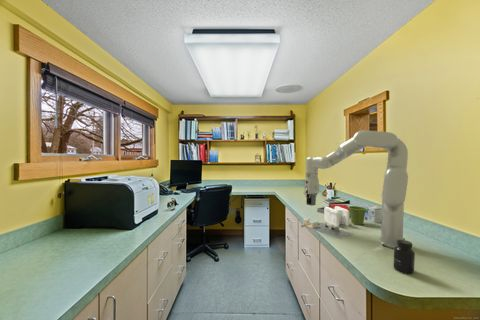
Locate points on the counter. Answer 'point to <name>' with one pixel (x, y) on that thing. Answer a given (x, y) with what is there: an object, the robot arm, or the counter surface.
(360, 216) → the plant pot
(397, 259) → the supplement bottle
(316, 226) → the board
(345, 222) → the cable organizer
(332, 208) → the red device housing
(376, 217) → the light bulb box
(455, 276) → the counter surface
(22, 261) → the counter surface
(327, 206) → the tray
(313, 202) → the block
